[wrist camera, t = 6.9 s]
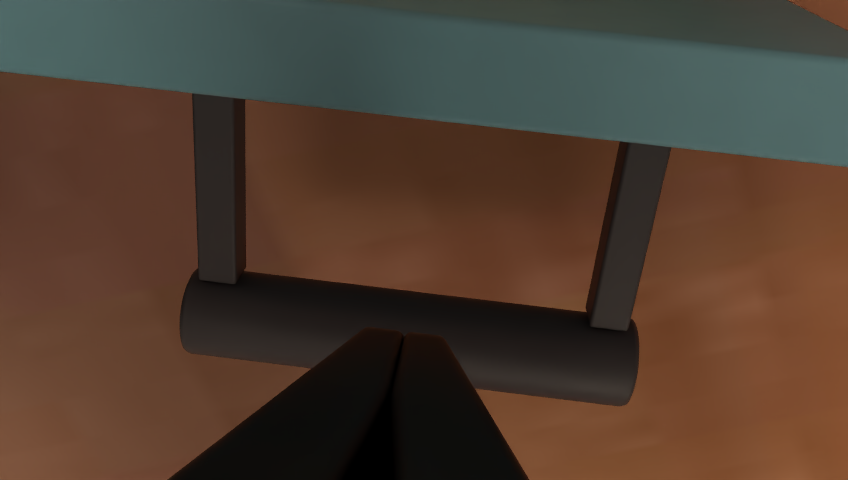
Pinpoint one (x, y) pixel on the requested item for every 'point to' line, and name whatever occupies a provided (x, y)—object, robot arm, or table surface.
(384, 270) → the table surface
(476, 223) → the table surface
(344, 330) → the drawer
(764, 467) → the table surface
